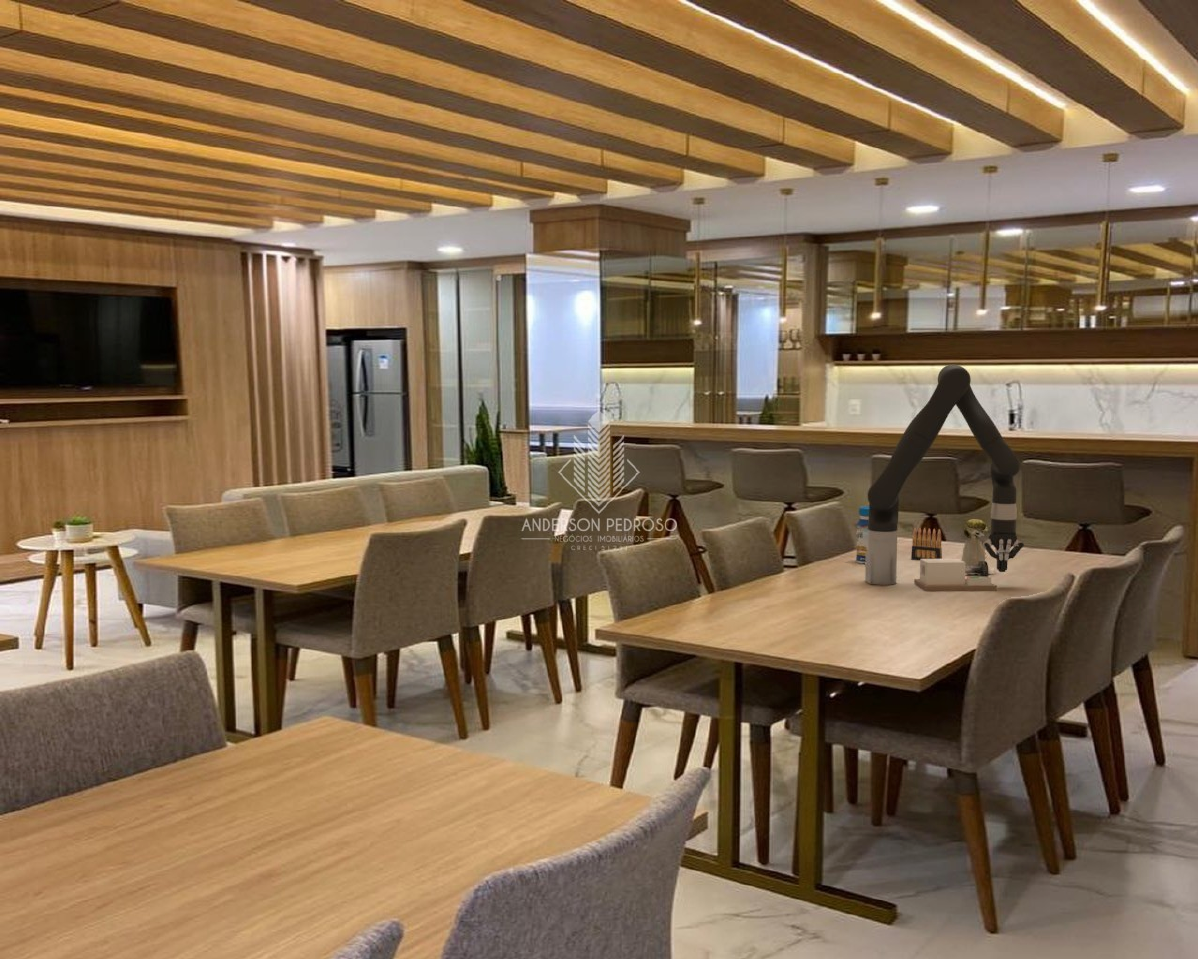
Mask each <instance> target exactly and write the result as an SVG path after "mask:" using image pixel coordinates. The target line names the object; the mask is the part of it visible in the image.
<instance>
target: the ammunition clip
mask: <svg viewBox="0 0 1198 959" xmlns="http://www.w3.org/2000/svg"><path fill="white" fill-rule="evenodd" d="M926 529H927V528H926V527H923V530H922V529H921V527H918V531H917V528H916V526H914V528H913V534H912V542H911V554H910V557H911V558H910V560H912V561H920V559H943V554H942V549H943V548H942V532H941V529H940V528H938V529H937V531H936V529H935V528H933V530H931V528H930V527H929V528H928V530H926ZM931 531H932V532H931ZM936 532H937V534H936Z"/></svg>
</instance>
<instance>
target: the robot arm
mask: <svg viewBox="0 0 1198 959" xmlns="http://www.w3.org/2000/svg"><path fill="white" fill-rule="evenodd" d="M971 380H972V379H971V375H970V372H969V371H968V370H967V369H966V368H965V367H962V366H961V365H959V364H948V365H945V366H944V367H943V368H942V369H941V370H940V371H939V373H938V376H937V385H936V387H935V390H934V391H933V393H932V395H931V396H930V399H929V400H928V401H927V403H926V404H925V405H924V406H923V408H922V409H921V410H920V411H919V412H918V413H917V414H916V416H915V417H914V418H913V419H912V420H911V421H910V423H909V424H908V426H907V427H906V429H905V431H903V433H902V435H901V436H900V439H899V440H898V442H897V445H896V446H895V449H894V450H893V453H892V455H891V457H890V460H889V461H888V463H887V465H886V467H884V470H883V471H882V472H881V473H880V475H879V476H878V478H877V479H876V480H875V481H874V483H872V485H871V486H870V487H869V488H868V491H867V500H868V503H869V504H868V506H869V519H868V551H867V552H866V564H865V570H864V572H865V573H864V576H865V577H864V579H865V582H866V583H868V584H869V585H878V586H879V585H880V586H882V585H884V586H887V585H888V586H889V585H891V586H892V585H896V584H897V575H898V574H897V570H898V569H897V568H898V566H897V564H898V562H897V561H898V558H897V557H898V527H899V526H898V525H899V524H898V523H899V510H900V508H899V506H900V504H899V502H900V501H899V500H900V493H901V491H902V488H903V487H904V484H905V482H906V481H907V478H908V477H909V476H910V475H911V473H912V472H913V471H914V470H915V469H916V467H917V466H919V464H920V462H921V461H922V460H923V459H924V458H925V456H926V454H928V452H929V450H930V449H931V447H932V445H933V443H934V441H935V440H936V439H937V437H938V435H939V433H940V432H941V429H942V428H943V426H944V424H945V422H946V420H947V418H948V417H949V414H950V413H951V411H952V410H953V408H955V406H956V407H957V409H958V410H959V412H960V413H961V415H962V417H963V419H964V420H965V422H966V423H967V426H968V427H969V429H970V431H971V434H972V435H973V436H974V439H975V440H976V442H977V443H978V444H979V446H980V448H981V450H982V451H983V453H984V452H985V453H986V454H987V455H988V456H989V458H990V459H991V463H990V477H991V478H990V479H991V484H992V500H991V501H992V503H991V509H990V533H989V537H988V539H987V540H986V541H982V545H983V546H984V548H985V551H986V553H988V554H989V556H990V557H991V558H993V559H996V571H998V572H999V573H1005V572H1006V571H1008V561H1009V560H1010V559H1014V558H1015V557H1016V556H1017V554H1018V553H1019V552H1020V551H1021V549H1022V548H1023V547H1024V546H1025V544H1024V543H1023V542H1021V541H1020V540H1018V536H1017V518H1018V516H1017V513H1018V509H1017V488H1016V486H1015V484H1014V477H1015V476H1016V475H1017V474H1018V473H1019V472H1020V468H1021V462H1020V459H1019V458H1018V456H1017V455H1016V453H1015V452H1014V451H1013V450H1012V448H1011V447H1010V446H1009V445H1008V443H1007V442H1006V441H1005V439H1004V438H1003V436H1002V434H1001V433H1000V431H999V429H998V428H997V426H996V424H995V423H994V422H993V420H992V418H991V417H990V415H989V414H988V413H987V411H986V410H985V408H983V406H982V405H981V403H980V401H979V400H978V399H977V396H976V395H975V392H974V391H973V388H972V387H971V383H972V382H971ZM992 546H993V547H994V548H995V550H993V548H992Z"/></svg>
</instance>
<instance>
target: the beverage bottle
mask: <svg viewBox="0 0 1198 959" xmlns="http://www.w3.org/2000/svg"><path fill="white" fill-rule="evenodd" d="M858 516H859V519H858V521H857V524H856V528H857V530H856V533H855V535H856V557H855V559H856V563H859V564H862V563H866V552H867V551H868V519H869V505H868V506H866V505H865V506H859V507H858Z"/></svg>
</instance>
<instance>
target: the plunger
mask: <svg viewBox="0 0 1198 959" xmlns="http://www.w3.org/2000/svg"><path fill="white" fill-rule="evenodd" d="M988 568H989V564H988V562H987V561H986V560H985V561H979V562H978V566H965V574H967V575H975V574H977V576H979V577H989V576H991V574H990V573H988Z"/></svg>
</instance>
